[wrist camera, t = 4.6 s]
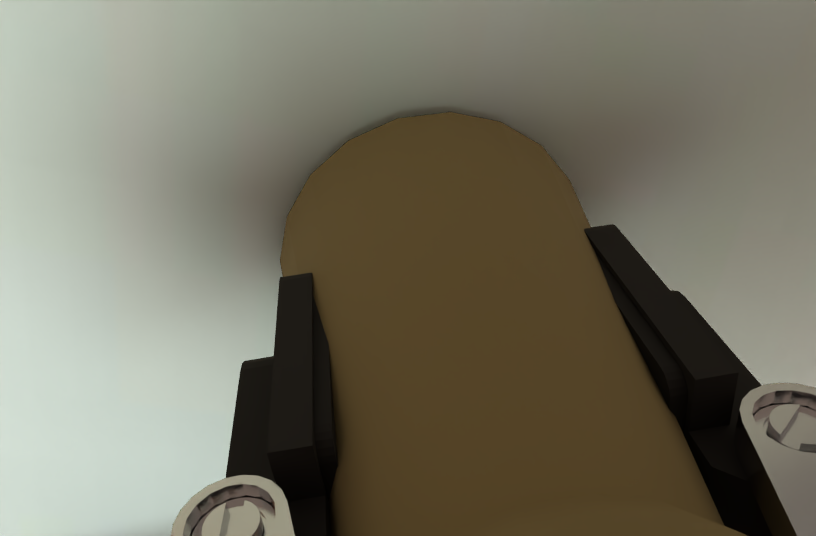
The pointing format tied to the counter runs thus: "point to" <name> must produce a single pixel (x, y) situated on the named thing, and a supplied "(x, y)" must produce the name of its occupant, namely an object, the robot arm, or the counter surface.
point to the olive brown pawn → (480, 347)
